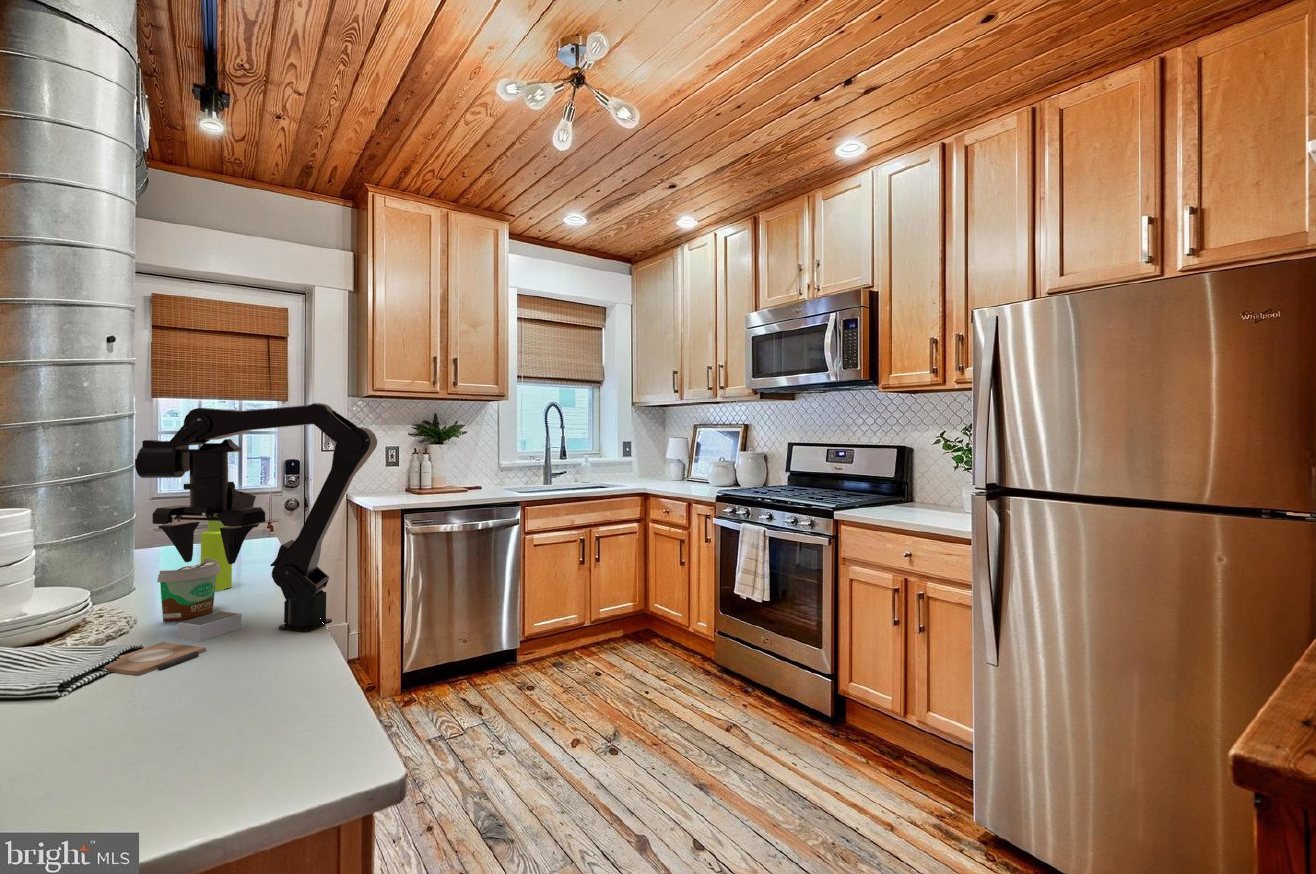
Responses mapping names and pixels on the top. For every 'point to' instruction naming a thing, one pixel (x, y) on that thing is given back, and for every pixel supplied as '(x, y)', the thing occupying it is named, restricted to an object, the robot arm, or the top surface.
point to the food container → (188, 591)
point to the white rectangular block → (209, 626)
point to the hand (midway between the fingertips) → (209, 562)
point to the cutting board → (154, 658)
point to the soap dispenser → (216, 553)
